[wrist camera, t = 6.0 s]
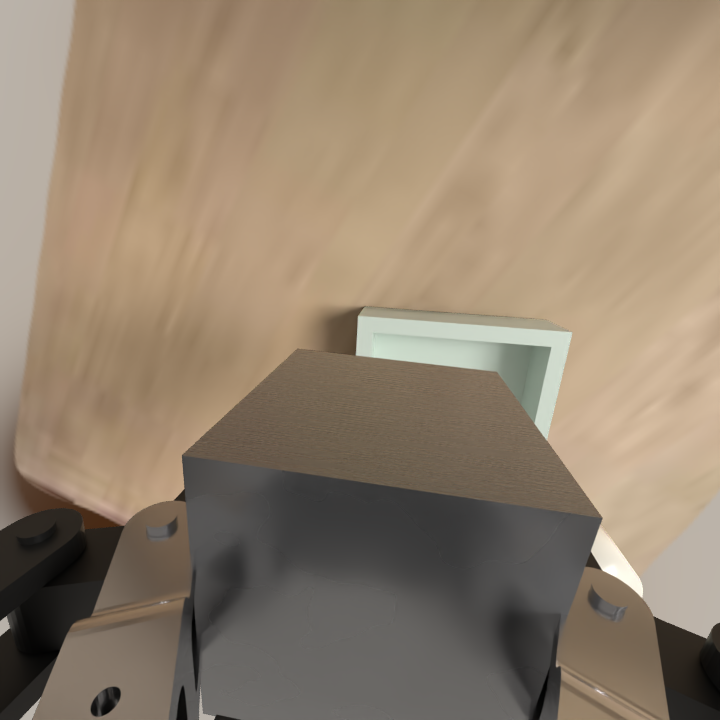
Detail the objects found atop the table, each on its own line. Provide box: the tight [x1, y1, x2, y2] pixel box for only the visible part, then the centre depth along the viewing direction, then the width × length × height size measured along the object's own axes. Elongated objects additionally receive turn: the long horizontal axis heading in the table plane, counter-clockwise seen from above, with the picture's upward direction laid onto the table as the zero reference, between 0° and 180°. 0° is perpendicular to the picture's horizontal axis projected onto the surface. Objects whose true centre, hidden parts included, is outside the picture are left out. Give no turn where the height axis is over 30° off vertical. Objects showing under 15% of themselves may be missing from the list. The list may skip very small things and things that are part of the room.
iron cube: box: [182, 349, 602, 720], centre depth 9 cm, size 6×6×6 cm
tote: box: [356, 306, 572, 440], centre depth 26 cm, size 13×13×4 cm
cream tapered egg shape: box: [591, 524, 643, 598], centre depth 27 cm, size 6×6×6 cm
